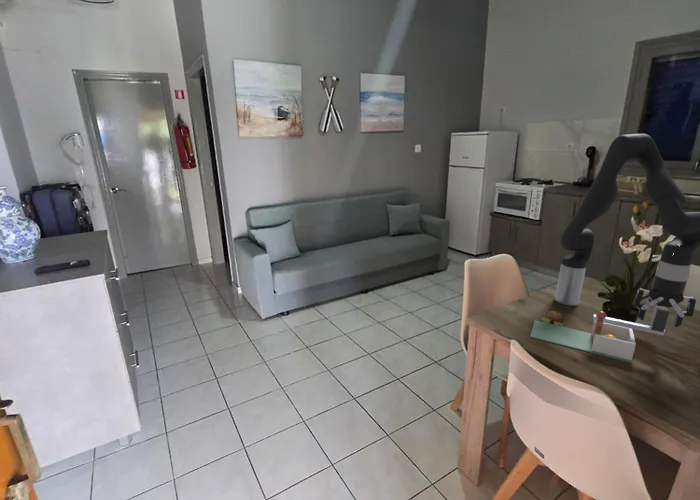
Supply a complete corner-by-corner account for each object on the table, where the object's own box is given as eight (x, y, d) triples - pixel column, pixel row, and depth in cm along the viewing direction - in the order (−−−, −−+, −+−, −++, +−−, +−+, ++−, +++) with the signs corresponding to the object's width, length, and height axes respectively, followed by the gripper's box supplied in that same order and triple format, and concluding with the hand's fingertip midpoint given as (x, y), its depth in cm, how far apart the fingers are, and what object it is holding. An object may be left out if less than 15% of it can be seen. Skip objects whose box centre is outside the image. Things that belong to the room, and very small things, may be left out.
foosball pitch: (534, 321, 143) (536, 306, 141) (627, 342, 128) (631, 326, 126) (529, 337, 132) (532, 321, 130) (631, 363, 116) (636, 345, 115)
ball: (615, 345, 126) (600, 341, 128) (618, 334, 124) (603, 330, 127) (616, 351, 122) (600, 347, 124) (619, 339, 121) (603, 336, 123)
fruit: (539, 322, 143) (541, 313, 142) (545, 314, 149) (546, 306, 148) (563, 328, 138) (564, 320, 137) (567, 320, 144) (569, 312, 143)
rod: (588, 337, 130) (597, 294, 124) (655, 353, 120) (668, 307, 115) (588, 343, 126) (598, 299, 121) (657, 359, 117) (671, 312, 112)
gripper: (699, 276, 110) (684, 323, 115) (640, 268, 117) (629, 312, 122) (705, 284, 104) (689, 333, 109) (643, 275, 111) (631, 321, 116)
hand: (657, 322), depth 116 cm, fingers open, 8 cm apart
